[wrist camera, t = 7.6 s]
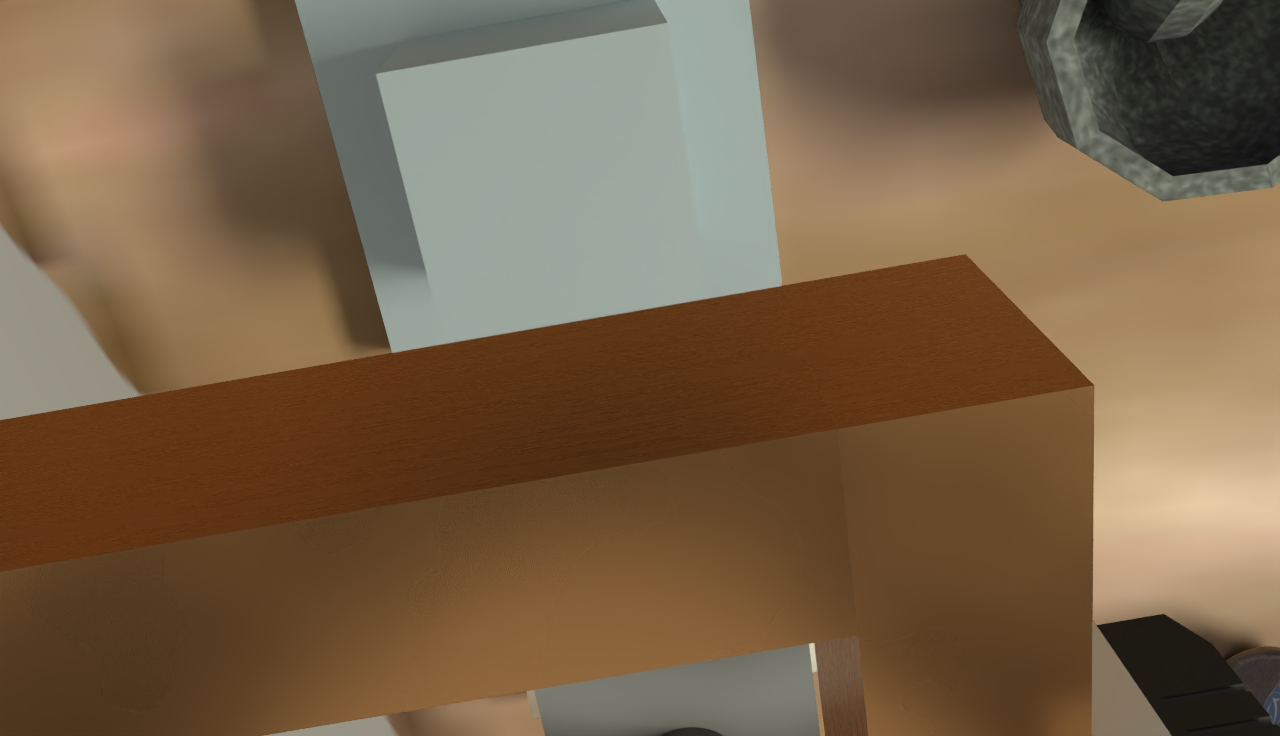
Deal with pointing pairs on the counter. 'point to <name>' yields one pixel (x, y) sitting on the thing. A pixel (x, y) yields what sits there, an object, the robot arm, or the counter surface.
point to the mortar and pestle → (1162, 88)
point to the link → (574, 521)
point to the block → (546, 157)
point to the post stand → (691, 699)
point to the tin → (1261, 676)
